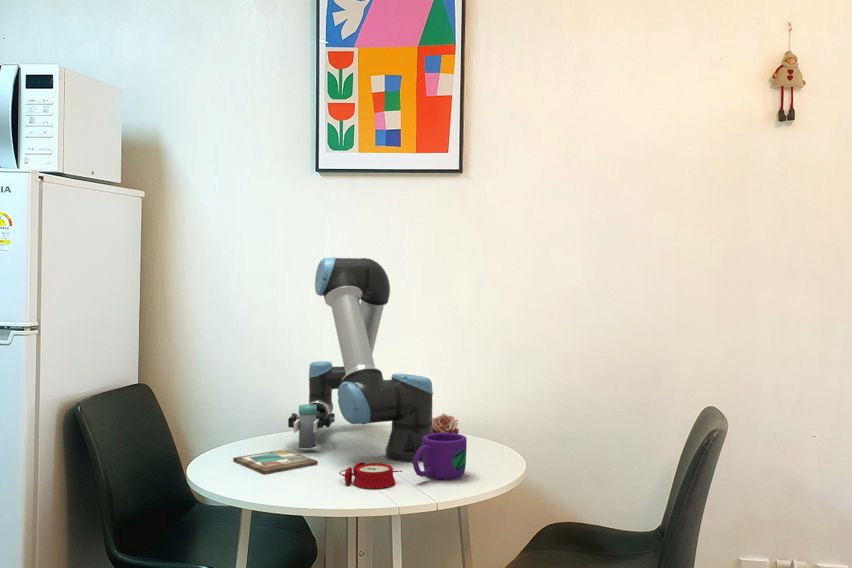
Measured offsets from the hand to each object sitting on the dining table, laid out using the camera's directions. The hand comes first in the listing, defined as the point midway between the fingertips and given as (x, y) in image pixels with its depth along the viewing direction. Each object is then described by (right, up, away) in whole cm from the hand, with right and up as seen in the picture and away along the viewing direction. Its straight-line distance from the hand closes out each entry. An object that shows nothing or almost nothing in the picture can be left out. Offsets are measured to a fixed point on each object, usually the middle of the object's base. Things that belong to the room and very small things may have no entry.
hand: (304, 427), depth 203 cm
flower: (+41, -8, +19) cm, 46 cm away
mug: (+38, -8, -23) cm, 45 cm away
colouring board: (-7, -8, -9) cm, 13 cm away
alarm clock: (+20, -8, -28) cm, 35 cm away
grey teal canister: (0, -7, +5) cm, 8 cm away
